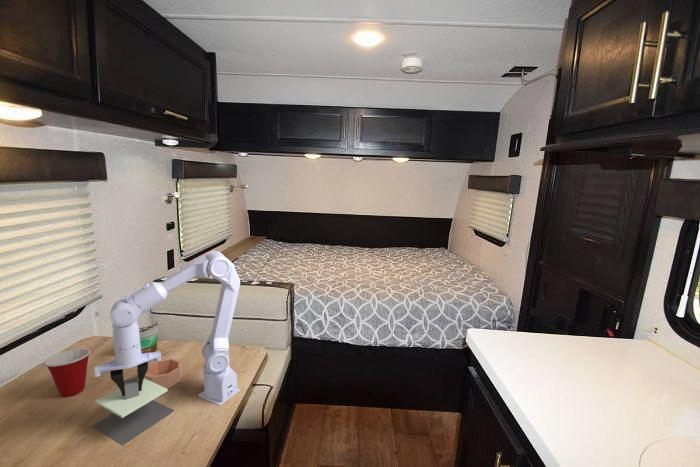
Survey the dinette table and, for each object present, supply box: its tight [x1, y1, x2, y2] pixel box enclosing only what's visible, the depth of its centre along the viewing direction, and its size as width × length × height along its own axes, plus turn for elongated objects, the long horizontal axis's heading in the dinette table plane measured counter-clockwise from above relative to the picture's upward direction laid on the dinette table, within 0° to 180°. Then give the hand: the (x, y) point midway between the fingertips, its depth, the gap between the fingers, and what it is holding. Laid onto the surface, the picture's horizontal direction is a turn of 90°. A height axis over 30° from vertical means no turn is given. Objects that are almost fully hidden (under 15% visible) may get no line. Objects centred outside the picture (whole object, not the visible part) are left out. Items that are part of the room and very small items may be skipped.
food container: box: [139, 321, 160, 354], centre depth 123 cm, size 12×6×10 cm, turn 143°
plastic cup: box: [43, 347, 92, 398], centre depth 100 cm, size 11×11×12 cm
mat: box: [91, 399, 175, 446], centre depth 90 cm, size 14×14×1 cm
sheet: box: [94, 376, 169, 418], centre depth 89 cm, size 12×12×5 cm
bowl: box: [144, 358, 183, 389], centre depth 106 cm, size 11×11×5 cm
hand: (132, 391), depth 89 cm, fingers closed on sheet, 3 cm apart
